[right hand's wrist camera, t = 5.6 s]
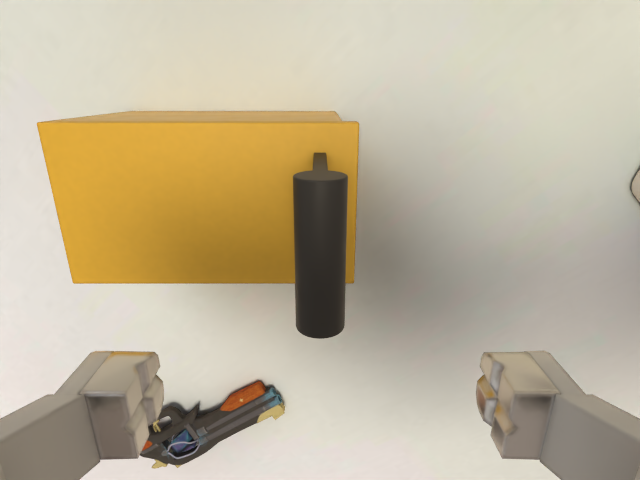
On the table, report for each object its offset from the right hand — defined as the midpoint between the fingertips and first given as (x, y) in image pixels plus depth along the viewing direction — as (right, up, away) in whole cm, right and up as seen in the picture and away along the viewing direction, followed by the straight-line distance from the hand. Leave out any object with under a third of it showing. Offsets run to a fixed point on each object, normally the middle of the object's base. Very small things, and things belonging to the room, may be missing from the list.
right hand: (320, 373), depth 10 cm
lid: (-7, +6, +15) cm, 17 cm away
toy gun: (-14, -15, +34) cm, 40 cm away
